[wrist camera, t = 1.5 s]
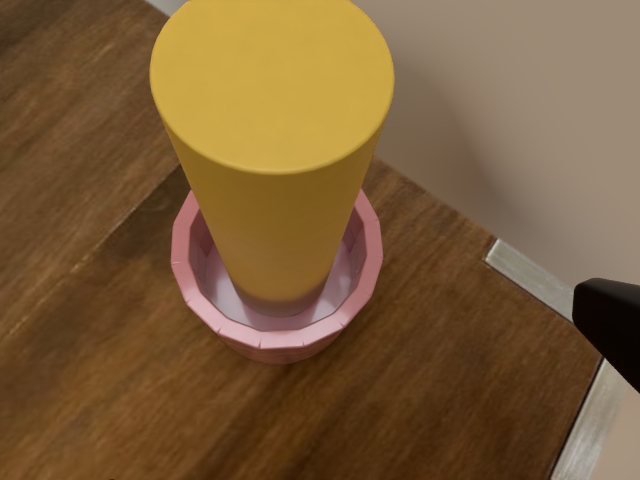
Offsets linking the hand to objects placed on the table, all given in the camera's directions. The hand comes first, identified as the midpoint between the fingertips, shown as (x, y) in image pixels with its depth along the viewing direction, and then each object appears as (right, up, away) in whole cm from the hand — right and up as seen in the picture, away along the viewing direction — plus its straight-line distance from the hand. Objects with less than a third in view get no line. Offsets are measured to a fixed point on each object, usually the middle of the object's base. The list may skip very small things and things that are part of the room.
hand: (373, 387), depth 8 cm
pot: (-3, 0, +13) cm, 14 cm away
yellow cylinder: (-3, +1, +10) cm, 11 cm away
